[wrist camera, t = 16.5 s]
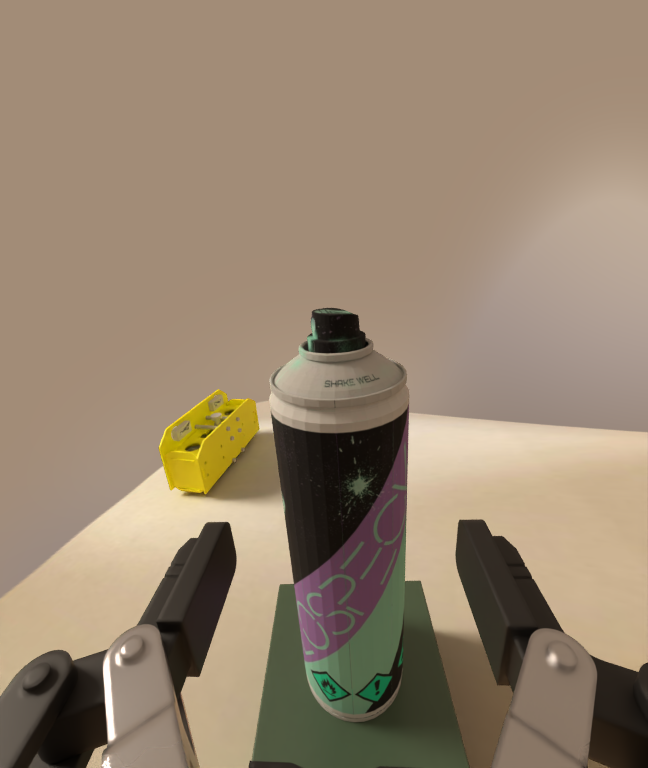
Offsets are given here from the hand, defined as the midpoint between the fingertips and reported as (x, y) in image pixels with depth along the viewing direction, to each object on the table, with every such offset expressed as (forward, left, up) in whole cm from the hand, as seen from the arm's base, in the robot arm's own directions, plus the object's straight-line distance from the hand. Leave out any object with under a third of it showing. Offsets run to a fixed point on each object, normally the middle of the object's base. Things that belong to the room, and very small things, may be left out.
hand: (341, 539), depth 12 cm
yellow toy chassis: (+13, +34, -18) cm, 41 cm away
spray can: (+3, +2, -13) cm, 13 cm away
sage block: (+3, +2, -18) cm, 18 cm away
